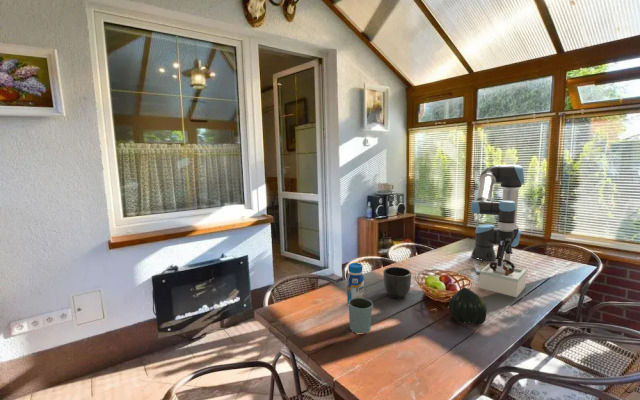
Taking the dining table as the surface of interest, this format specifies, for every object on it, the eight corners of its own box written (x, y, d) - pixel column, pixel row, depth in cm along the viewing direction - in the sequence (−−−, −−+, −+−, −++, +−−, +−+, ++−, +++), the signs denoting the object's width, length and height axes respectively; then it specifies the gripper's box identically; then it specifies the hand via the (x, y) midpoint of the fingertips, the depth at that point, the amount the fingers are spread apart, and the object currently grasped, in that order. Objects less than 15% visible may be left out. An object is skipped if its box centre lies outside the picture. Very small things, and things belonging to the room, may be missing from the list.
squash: (485, 323, 128) (486, 287, 135) (445, 316, 135) (448, 282, 142) (486, 332, 138) (487, 298, 145) (449, 325, 145) (452, 293, 153)
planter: (383, 288, 175) (383, 266, 173) (409, 290, 172) (410, 267, 171) (383, 300, 162) (383, 275, 160) (411, 302, 159) (412, 277, 157)
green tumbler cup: (348, 323, 140) (347, 297, 139) (371, 323, 140) (371, 297, 138) (349, 336, 130) (349, 308, 129) (374, 336, 130) (374, 308, 128)
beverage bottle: (352, 298, 164) (352, 261, 161) (367, 302, 159) (367, 264, 157) (343, 304, 157) (343, 265, 155) (359, 309, 153) (358, 269, 150)
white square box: (489, 278, 187) (490, 262, 186) (525, 286, 175) (526, 269, 173) (478, 287, 174) (479, 270, 173) (516, 297, 162) (517, 279, 161)
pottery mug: (504, 269, 179) (512, 259, 175) (510, 282, 172) (519, 272, 167) (484, 264, 179) (491, 254, 175) (488, 277, 172) (496, 267, 167)
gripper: (504, 224, 181) (502, 261, 184) (490, 233, 164) (488, 272, 167) (519, 226, 176) (517, 263, 179) (507, 235, 159) (504, 276, 162)
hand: (503, 268), depth 173 cm, fingers open, 13 cm apart
